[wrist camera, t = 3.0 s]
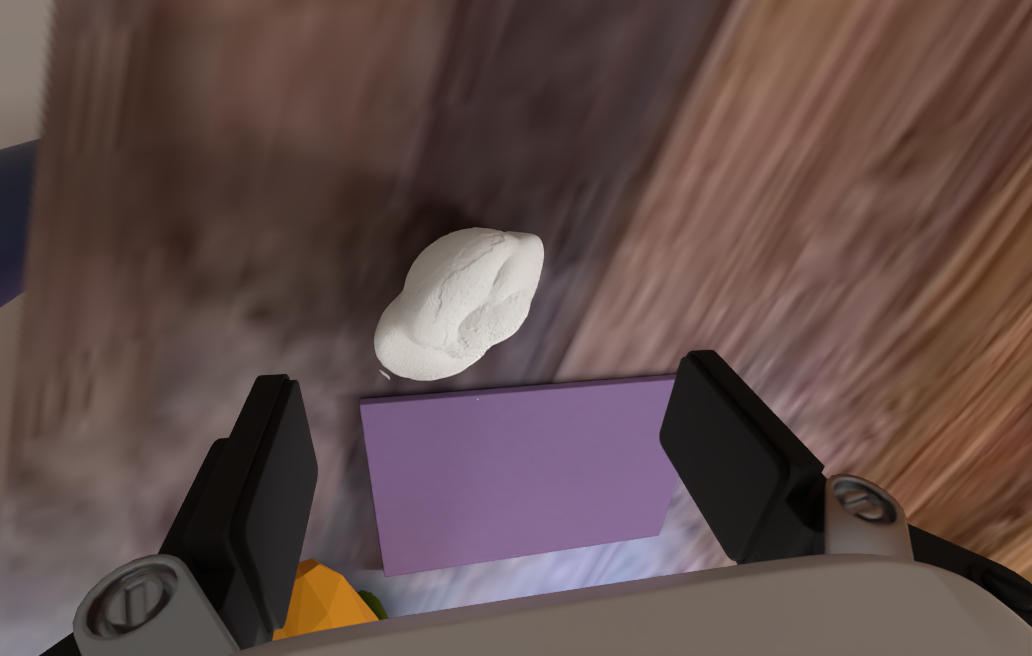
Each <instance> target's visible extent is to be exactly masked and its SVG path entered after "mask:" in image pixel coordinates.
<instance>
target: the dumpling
mask: <svg viewBox="0 0 1032 656" xmlns="http://www.w3.org/2000/svg"><path fill="white" fill-rule="evenodd" d="M543 259H544V249H543V244H542V241H541V239H540V238H539V237H538V236H536V235H534V234H530V233H521V232H512V231H507V232H502V231H501V230H494V229H488V228H478V227H474V228H469V229H464V230H458V231H455V232H453V233H449V234H448V235H446V236H443V237H441V238H439V239H438V240H436V241H435V242H433V243H432V244H431V245H429V246H428V247H427V248H425V249H424V251H422V252H421V253H420V255H419V256H418V257H417V259H416V260H415V261H414V263H413V264H412V266H411V268H410V270H409V272H408V274H407V277H406V280H405V285H404V288H403V291H402V292H401V293H400V294H399V295H398V296H397V297H396V298H395V299H394V300H393V301H392V302H391V303H390V304H389V306H388V307H387V308H386V309H385V311H384V312H383V314H382V316H381V318H380V321H379V323H378V325H377V328H376V331H375V336H374V346H375V352H376V355H377V358H378V359H379V360H380V361H381V363H382V365H383V366H384V367H386V368H387V369H389V370H390V371H391V372H393V373H394V374H396V375H398V376H401V377H405V378H406V377H407V378H411V379H413V380H422V381H423V380H428V381H430V380H436V379H440V378H445V377H448V376H452V375H455V374H457V373H460V372H462V371H463V370H465V369H466V368H467V367H468V366H470V365H472V364H473V363H474V362H476V361H477V360H479V359H480V358H481V357H482V356H483V355H484V353H485V352H486V350H487V349H489V348H490V347H491V346H492V345H494V344H497V343H499V342H501V341H503V340H506V339H507V338H508V337H510V336H511V335H513V334H514V333H515V332H516V331H517V330H518V329H519V327H520V326H521V325H522V323H523V321H524V320H525V318H526V317H527V316H528V311H529V309H530V302H531V300H532V298H533V296H534V293H535V290H536V288H537V286H538V281H539V280H540V278H539V276H540V274H541V270H542V265H543ZM379 371H380V372H381V374H383V375H384V376H386V377H388V379H389V380H390V377H389V376H388V375H387V374H386V373H384V372H383V371H381V370H379ZM477 400H479V399H478V398H477Z"/></svg>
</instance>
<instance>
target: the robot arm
mask: <svg viewBox="0 0 1032 656" xmlns="http://www.w3.org/2000/svg"><path fill="white" fill-rule="evenodd" d="M659 440H660V444H661V446H662V448H663V450H664V451H665V453H666V455H667V456H668V458H669V460H670V461H671V463H672V465H673V466H674V468H675V470H676V471H677V473H678V475H679V476H680V478H681V480H682V481H683V483H684V485H685V486H686V488H687V490H688V491H689V493H690V495H691V496H692V498H693V500H694V501H695V503H696V505H697V506H698V508H699V510H700V511H701V513H702V515H703V516H704V518H705V520H706V521H707V523H708V525H709V526H710V528H711V530H712V531H713V533H714V535H715V536H716V538H717V540H718V541H719V543H720V545H721V546H722V548H723V550H724V551H725V553H726V555H727V556H728V557H729V558H730V559H731V560H733V561H736V563H737V564H738V565H734V566H728V567H721V568H714V569H707V570H700V571H693V572H687V573H680V574H673V575H666V576H659V577H652V578H646V579H639V580H633V581H626V582H619V583H613V584H606V585H600V586H593V587H586V588H580V589H573V590H567V591H560V592H554V593H547V594H541V595H534V596H528V597H521V598H515V599H508V600H502V601H496V602H489V603H483V604H477V605H470V606H464V607H458V608H451V609H445V610H439V611H432V612H426V613H420V614H413V615H407V616H401V617H395V618H389V619H384V620H378V621H372V622H366V623H361V624H355V625H349V626H344V627H338V628H332V629H326V630H321V631H315V632H311V633H306V634H302V635H297V636H293V637H288V638H284V639H279V640H275V641H272V639H273V635H274V631H275V630H278V629H282V628H283V627H284V625H285V622H286V618H287V614H288V609H289V605H290V600H291V596H292V591H293V587H294V582H295V578H296V573H297V569H298V564H299V560H300V555H301V550H302V546H303V541H304V537H305V532H306V528H307V523H308V519H309V514H310V510H311V505H312V501H313V496H314V492H315V487H316V482H317V476H318V466H317V460H316V456H315V452H314V447H313V443H312V439H311V434H310V430H309V425H308V421H307V417H306V412H305V408H304V403H303V399H302V395H301V390H300V386H299V382H298V381H297V380H290V378H289V376H288V375H287V374H278V375H260V376H258V377H257V378H256V380H255V382H254V384H253V387H252V389H251V391H250V393H249V395H248V397H247V400H246V402H245V404H244V406H243V408H242V410H241V413H240V415H239V417H238V419H237V421H236V423H235V426H234V428H233V430H232V432H231V434H230V436H229V438H221V439H217V440H216V441H215V442H214V443H213V445H212V446H211V448H210V450H209V452H208V454H207V456H206V458H205V460H204V462H203V464H202V466H201V468H200V470H199V472H198V474H197V476H196V478H195V480H194V482H193V484H192V486H191V488H190V490H189V492H188V494H187V496H186V498H185V500H184V502H183V504H182V506H181V508H180V510H179V512H178V514H177V516H176V518H175V520H174V522H173V524H172V526H171V528H170V530H169V532H168V534H167V536H166V538H165V540H164V542H163V544H162V546H161V548H160V550H159V552H158V554H157V555H149V556H146V557H142V558H139V559H135V560H133V561H131V562H129V563H127V564H125V565H123V566H121V567H119V568H117V569H116V570H114V571H113V572H111V573H110V574H109V575H107V576H106V577H104V578H103V579H102V580H101V581H100V582H99V583H98V584H97V585H95V586H94V587H93V588H92V589H91V590H90V591H89V592H88V594H87V595H86V596H85V598H84V599H83V601H82V602H81V604H80V605H79V607H78V608H77V611H76V614H75V617H74V620H73V633H71V634H70V635H68V636H67V637H65V638H64V639H62V640H61V641H60V642H58V643H57V644H55V645H54V646H52V647H51V648H49V649H48V650H47V651H45V652H44V653H42V654H41V655H39V656H1032V584H1031V583H1030V582H1029V581H1027V580H1026V579H1024V578H1023V577H1021V576H1020V575H1019V574H1017V573H1016V572H1014V571H1012V570H1010V569H1008V568H1006V567H1005V566H1003V565H1001V564H999V563H996V562H994V561H992V560H990V559H987V558H985V557H983V556H980V555H978V554H976V553H974V552H971V551H969V550H967V549H964V548H962V547H960V546H958V545H955V544H953V543H951V542H949V541H946V540H944V539H942V538H939V537H937V536H935V535H933V534H930V533H928V532H926V531H923V530H921V529H919V528H917V527H914V526H912V525H910V524H908V523H907V518H906V515H905V513H904V510H903V508H902V507H901V506H900V504H899V503H898V502H897V500H896V499H895V498H893V497H892V496H891V495H890V494H889V493H888V492H887V491H885V490H884V489H882V488H881V487H879V486H878V485H876V484H875V483H872V482H870V481H868V480H866V479H864V478H861V477H857V476H854V475H849V474H837V475H832V476H831V477H830V478H828V479H827V478H826V477H825V476H824V475H823V474H822V473H821V472H822V471H823V469H824V467H825V466H824V465H823V464H822V463H821V462H820V461H819V460H818V459H817V458H816V457H815V456H814V455H813V454H812V453H811V451H810V450H809V449H808V448H807V447H806V446H805V445H804V444H803V443H802V442H801V441H800V440H799V439H798V438H797V437H796V436H795V435H794V434H793V433H792V431H791V430H790V429H789V428H788V427H787V426H786V425H785V424H784V423H783V422H782V421H781V420H780V419H779V418H778V417H777V416H776V415H775V414H774V413H773V411H772V410H771V409H770V408H769V407H768V406H767V405H766V404H765V403H764V402H763V401H762V400H761V399H760V398H759V397H758V396H757V395H756V394H755V393H754V392H753V390H752V389H751V388H750V387H749V386H748V385H747V384H746V383H745V382H744V381H743V380H742V379H741V378H740V377H739V376H738V375H737V374H736V373H735V372H734V370H733V369H732V368H731V367H730V366H729V365H728V364H727V363H726V362H725V361H724V360H723V359H722V358H721V357H720V356H719V355H718V354H717V353H716V352H715V351H714V350H697V351H690V352H689V353H688V354H687V356H686V357H683V358H682V359H681V362H680V365H679V368H678V371H677V375H676V378H675V382H674V385H673V388H672V392H671V395H670V398H669V402H668V405H667V409H666V412H665V415H664V419H663V422H662V425H661V429H660V433H659Z"/></svg>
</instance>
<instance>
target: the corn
mask: <svg viewBox="0 0 1032 656" xmlns="http://www.w3.org/2000/svg"><path fill="white" fill-rule="evenodd" d="M384 619H388V617H387V614H386V612H385V610H384V609H383V607H382V605H381V603H380V601H379V600H378V599H377V598H376V597H375V596H374V595H373V594H372V593H370V592H366V591H363V590H361V591H360V592H358V593H357V592H356V591H355V590H354V589H353V588H352V586H351V585H350V584H349V583H348V582H347V580H346V579H345V578H344V577H343V576H342V575H341V574H339V573H338V572H336V571H334V570H332V569H330V568H329V567H327V566H325V565H323V564H321V563H319V562H318V561H316V560H314V559H309V560H306V561H303V562H300V563H299V564H298V569H297V573H296V578H295V582H294V587H293V591H292V596H291V600H290V605H289V609H288V614H287V618H286V622H285V625H284V627H283V628H282V629H278V630H275V631H274V635H273V639H272V641H275V640H279V639H284V638H288V637H293V636H297V635H302V634H306V633H311V632H315V631H321V630H326V629H332V628H338V627H344V626H349V625H355V624H361V623H366V622H372V621H378V620H384Z"/></svg>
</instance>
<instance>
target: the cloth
mask: <svg viewBox="0 0 1032 656" xmlns="http://www.w3.org/2000/svg"><path fill="white" fill-rule="evenodd" d="M676 375H677V374H673V375H660V376H648V377H635V378H622V379H610V380H597V381H584V382H572V383H559V384H546V385H534V386H521V387H508V388H496V389H483V390H470V391H458V392H445V393H432V394H420V395H407V396H394V397H382V398H369V399H360V405H359V406H360V412H361V419H362V426H363V433H364V440H365V446H366V453H367V460H368V467H369V474H370V481H371V487H372V494H373V501H374V508H375V515H376V521H377V528H378V535H379V542H380V549H381V556H382V562H383V569H384V576H385V577H390V576H397V575H403V574H410V573H417V572H423V571H430V570H436V569H443V568H449V567H456V566H462V565H469V564H475V563H482V562H489V561H495V560H502V559H508V558H515V557H521V556H528V555H534V554H541V553H547V552H554V551H561V550H567V549H574V548H580V547H587V546H593V545H600V544H606V543H613V542H619V541H626V540H633V539H639V538H646V537H652V536H658V535H659V533H660V530H661V527H662V525H663V522H664V519H665V516H666V513H667V510H668V507H669V504H670V501H671V498H672V495H673V493H674V490H675V487H676V484H677V481H678V478H679V475H678V473H677V471H676V470H675V468H674V466H673V465H672V463H671V461H670V460H669V458H668V456H667V455H666V453H665V451H664V450H663V448H662V446H661V444H660V440H659V433H660V429H661V425H662V422H663V419H664V415H665V412H666V409H667V405H668V402H669V398H670V395H671V392H672V388H673V385H674V382H675V378H676ZM477 398H478V399H479V400H477Z"/></svg>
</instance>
